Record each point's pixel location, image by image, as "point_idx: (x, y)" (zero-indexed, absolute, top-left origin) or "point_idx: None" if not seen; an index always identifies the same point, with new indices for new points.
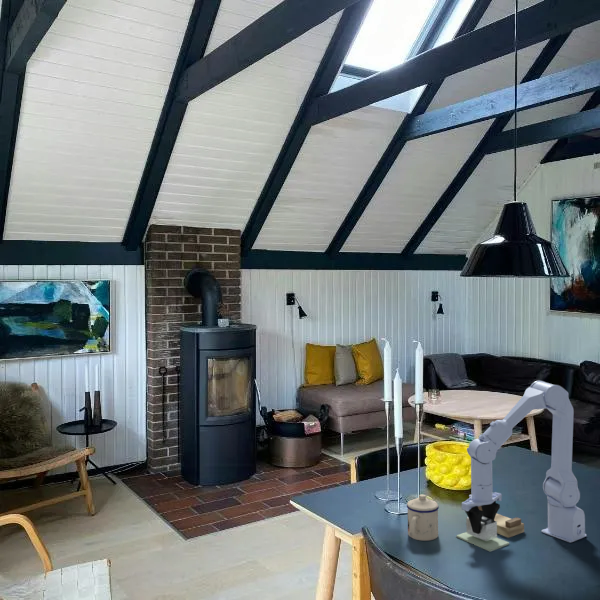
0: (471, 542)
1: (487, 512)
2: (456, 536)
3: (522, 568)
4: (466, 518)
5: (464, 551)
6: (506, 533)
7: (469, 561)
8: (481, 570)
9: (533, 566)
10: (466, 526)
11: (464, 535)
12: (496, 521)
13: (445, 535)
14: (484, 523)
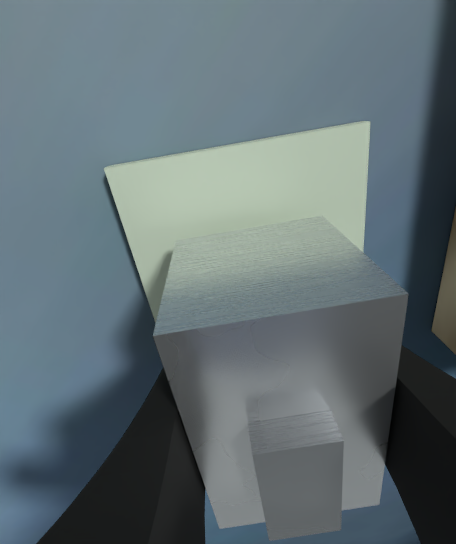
0: (154, 314)
1: (440, 502)
2: (107, 168)
3: (208, 527)
4: (155, 329)
5: (49, 371)
6: (450, 333)
7: (21, 451)
8: (38, 507)
9: (257, 527)
10: (169, 269)
11: (173, 205)
12: (377, 503)
13: (19, 74)
14: (236, 507)
